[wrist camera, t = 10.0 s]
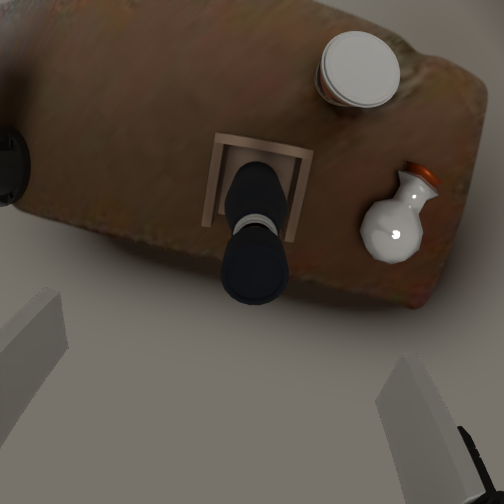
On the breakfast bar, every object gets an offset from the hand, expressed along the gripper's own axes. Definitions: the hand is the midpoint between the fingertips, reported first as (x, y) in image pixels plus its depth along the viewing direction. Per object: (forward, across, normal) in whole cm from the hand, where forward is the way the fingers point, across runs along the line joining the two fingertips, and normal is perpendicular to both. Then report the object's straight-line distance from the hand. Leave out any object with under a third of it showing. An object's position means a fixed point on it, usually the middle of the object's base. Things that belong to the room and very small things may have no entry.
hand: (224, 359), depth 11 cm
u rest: (+38, 0, 0) cm, 38 cm away
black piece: (+38, 0, 0) cm, 38 cm away
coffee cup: (+38, +9, +17) cm, 43 cm away
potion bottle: (+38, +21, +1) cm, 44 cm away
